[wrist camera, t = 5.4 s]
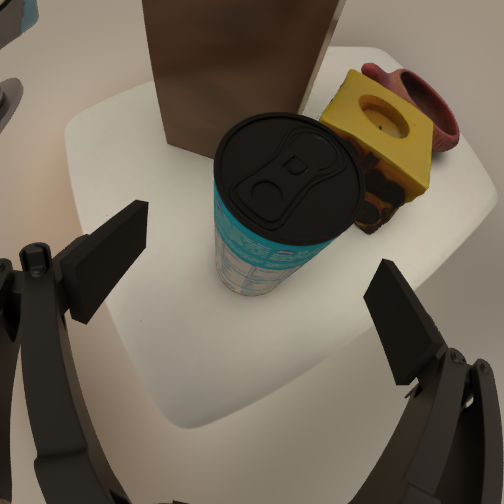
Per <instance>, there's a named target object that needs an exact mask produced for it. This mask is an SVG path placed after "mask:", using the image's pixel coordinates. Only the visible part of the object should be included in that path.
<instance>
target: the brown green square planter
mask: <svg viewBox="0 0 504 504" xmlns="http://www.w3.org/2000/svg"><path fill="white" fill-rule="evenodd" d="M345 2H346V0H142V5H143V13H144V21H145V28H146V35H147V42H148V48H149V54H150V60H151V66H152V71H153V76H154V82H155V87H156V93H157V98H158V103H159V107H160V112H161V117H162V122H163V126H164V131H165V135H166V139H167V143H168V144H170V145H173V146H177V147H180V148H183V149H186V150H189V151H192V152H195V153H198V154H201V155H203V156H206V157H209V158H212V159H214V157H215V153H216V150H217V147H218V145H219V143H220V141H221V139H222V138H223V136H224V135H225V134H226V133H227V132H228V131H229V130H230V129H231V128H232V127H233V126H234V125H236V124H237V123H239V122H240V121H242V120H244V119H246V118H248V117H251V116H254V115H257V114H261V113H267V112H288V113H294V114H299V115H302V113H303V111H304V108H305V105H306V103H307V100H308V98H309V95H310V92H311V90H312V87H313V85H314V82H315V79H316V77H317V74H318V72H319V69H320V67H321V64H322V61H323V59H324V56H325V54H326V51H327V48H328V46H329V43H330V41H331V38H332V35H333V33H334V30H335V28H336V25H337V22H338V20H339V17H340V15H341V12H342V10H343V7H344V5H345Z"/></svg>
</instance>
